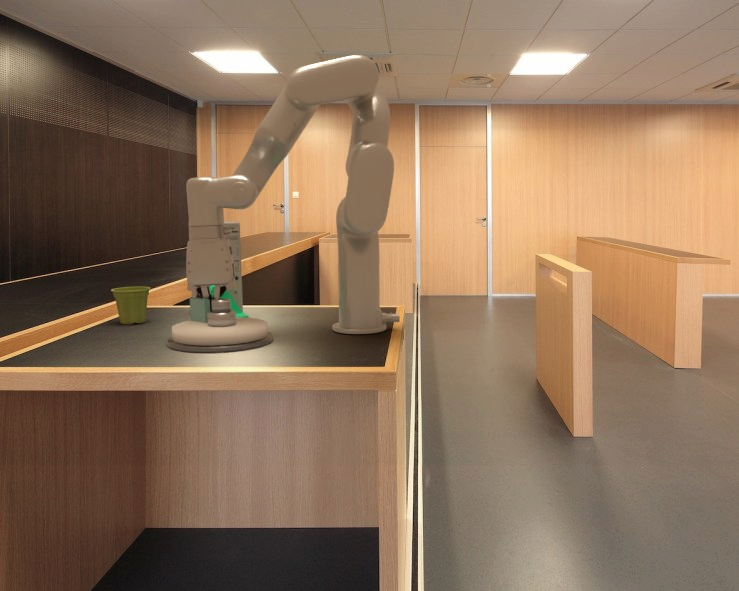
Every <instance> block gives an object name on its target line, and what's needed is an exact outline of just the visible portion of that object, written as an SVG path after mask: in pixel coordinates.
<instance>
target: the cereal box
mask: <svg viewBox="0 0 739 591" xmlns="http://www.w3.org/2000/svg"><path fill="white" fill-rule="evenodd" d="M224 225H225V227H228V228H231V230H232V233H231V234H227V235H226V237H225V239H229V240H230V244H231V248H232V253H233V260H234V268H235V283H236V288H234V289H231V290H228V291H229V294H230V295H231V297H232V298H233V299H234V301H235V302H236V304H237V305H238V307H239V308H240V310H241V311H242V313H244V308H243V307H244V306H243V280H242V279H243V277H242V276H243V274H242V271H243V270H242V249H241V247H242V246H241V223H240V221H225V220H224ZM188 241H191V239H190V226H189V225H188ZM225 285H227V284H225ZM210 286H211V285H209V287H210ZM199 287H201V286H199ZM191 298H202V299H203V297H202V296H201V295H200V294H199V293H198V292H193V291H191Z"/></svg>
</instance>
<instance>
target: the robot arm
mask: <svg viewBox="0 0 739 591" xmlns="http://www.w3.org/2000/svg"><path fill="white" fill-rule="evenodd" d="M379 72H380V71H379V69H378V66H377V64H376V62H374V61H373V59H371V58H370V57H368V56H366V55H363V54H353V55H347V56H343V57H339V58H334V59H330V60H325V61H320V62H316V63H311V64H308V65H307V64H306V65H302V66H300V67H297V68H296V69H294V70H293V71H292V72H291V73H290V74H289V76H288V78H287V81H286V83H285V85H284V87H283V89H282V91H281V92H280V93H279V95H278V96H277V98H276V100H275V101H274V103H273V104H272V106H271V107H270V108H269V110H268V112H267V114H266V115H265V116H264V118H263V119H262V121H261V122H260V124H259V125H258V127H257V129H256V130H255V133H254V135H253V138H252V141H251V143H250V146H249V147H248V150H247V151H246V152H245V154H244V156H243V158H242V159H241V161H240V163H239V165H237V168H236V169H235V170H234V172H233V174H232V175H228V176H227V175H226V176H221V177H214V176H198V177H191V178H189V179H188V180H187V181H186V185H185V186H186V198H187V199H186V200H187V201H186V202H187V212H188V213H187V214H188V227H189V226H190V239H191V241H189V240H188V241H187V245H186V246H187V247H186V254H185V255H186V258H185V260H186V261H185V262H186V263H185V266H186V268H185V269H186V270H185V271H186V282H187V287H186V290H187V291H189V292H192V291H193V292H198V293H199V294H200V295H201V296H202V297H203V298H204V299H209V300H210V311H212V302H211V300H213V299H220V297H221V296H222V295H223V293H224V292H225V291H227V290H231V289H234V288H236V283H235V268H234V260H233V253H232V248H231V244H230V240H229V239H225V237H226V235H227V234H231V233H232V230H231V228H228V227H225V225H224V221H225V214H224V212H225V211H224V209H232V210H233V209H234V210H245V209H248V208H250V207H251V206H252V205H254V204H255V202H256V201H257V199H258V197H259V195H260V194H261V192H262V191H263V190H264V187H265V186H266V184H267V183H268V182H269V180H270V178H271V177H272V176H273V174H274V172H275V171H276V169H277V168H278V167H279V165H280V164H282V162H283V161H284V160H285V158H287V156H288V155H289V153H290V151H291V150H292V149H293V147H294V146H295V144H296V143H297V141H298V140H299V138H300V136H301V135H302V133H303V132H304V131H305V128H306V127H307V125H308V124H309V122H310V121H311V119H312V118H313V116H314V115H315V113H316V112H317V111H318V109H319V107H320V106H321V105H326V104H333V103H336V102H342V101H344V102H345V103H346V104H347V105H348V107H349V108H350V110H351V113H352V115H351V116H352V124H351V125H352V126H351V135H350V139H349V147H348V150H347V151H348V152H347V157H346V160H345V161H346V162H345V173H346V176H347V178H348V179H347V186H346V193H345V197H343V199H341V200H340V202H339V204H338V206H337V210H336V216H335V222H336V234H337V261H338V263H337V269H338V270H337V273H338V275H337V276H338V322H336V323H334V324H332V331H334V332H336V333H340V334H346V335H368V334H378V333H382V332H384V331H386V330H387V324H386V323H389V322H391V323H400V321H401V320H400V318H401V316H400V313H393V312H392V313H386V312H383V311H382V309H381V307H380V305H381V304H380V303H381V300H380V298H381V297H380V296H381V295H380V294H381V293H380V290H381V289H380V288H381V287H380V283H381V282H380V262H381V261H380V254H381V253H380V241H379V240H380V239H379V231H380V230H381V229H382V228H383V227H384V225H385V222H386V220H387V217H388V212H389V206H390V202H391V201H390V200H391V193H392V188H393V181H394V174H395V162H394V157H393V156H394V155H392V151H391V150H390V149H389V148H388V145H389V137H390V127H391V109H390V105H389V102H388V100H387V97H386V95H385V93H384V92H383V90H382V89H381V87H380V86H379V79H380V73H379ZM225 284H227V285H225ZM209 285H215V289H214V296H213V297H212V295H211V293H210V288H209ZM222 285H224V286H222ZM199 286H201V287H199Z"/></svg>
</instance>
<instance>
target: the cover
mask: <svg viewBox="0 0 739 591" xmlns="http://www.w3.org/2000/svg"><path fill="white" fill-rule="evenodd" d="M211 302H212V311H209V312H207V322H208V326H209V327H229V326H234V325H236V311H235V310H231V299H213V300H211Z"/></svg>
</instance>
